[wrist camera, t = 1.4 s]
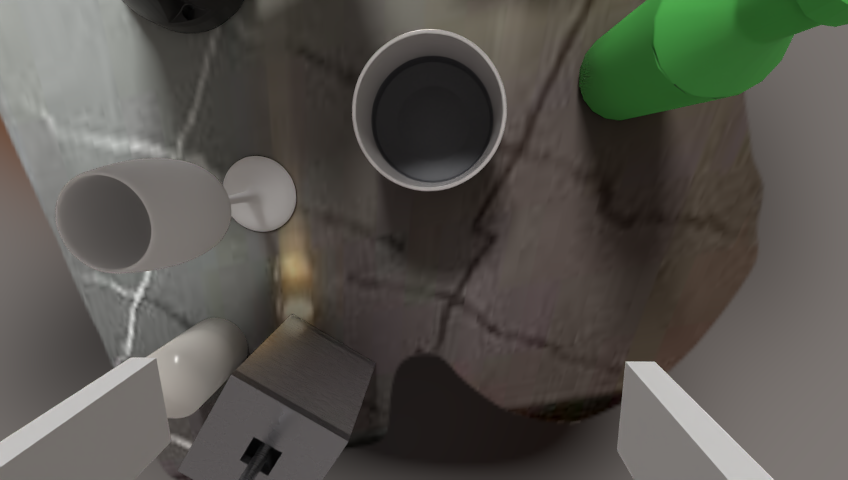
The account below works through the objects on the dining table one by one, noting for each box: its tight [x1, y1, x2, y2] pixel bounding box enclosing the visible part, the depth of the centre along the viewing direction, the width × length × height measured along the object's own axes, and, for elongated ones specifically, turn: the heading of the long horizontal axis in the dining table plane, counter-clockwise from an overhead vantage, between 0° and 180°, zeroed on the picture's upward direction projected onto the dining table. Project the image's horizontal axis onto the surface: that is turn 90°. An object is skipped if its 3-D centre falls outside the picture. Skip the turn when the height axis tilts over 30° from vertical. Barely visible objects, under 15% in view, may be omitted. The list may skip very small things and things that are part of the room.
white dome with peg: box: [146, 318, 248, 419], centre depth 45 cm, size 8×11×9 cm
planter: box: [352, 29, 507, 191], centre depth 37 cm, size 13×13×10 cm
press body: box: [178, 314, 376, 480], centre depth 43 cm, size 12×12×14 cm
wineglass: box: [55, 156, 296, 273], centre depth 35 cm, size 9×9×21 cm
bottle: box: [579, 0, 848, 120], centre depth 28 cm, size 9×9×25 cm
